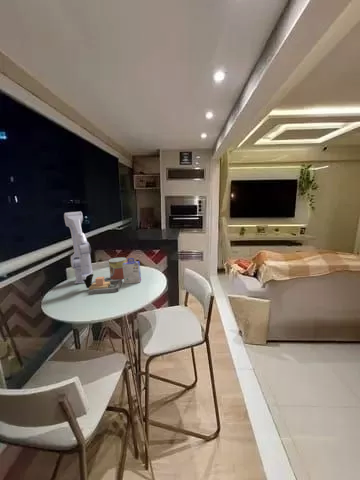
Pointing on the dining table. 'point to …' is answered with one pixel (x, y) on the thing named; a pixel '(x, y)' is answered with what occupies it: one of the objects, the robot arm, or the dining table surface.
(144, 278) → the dining table surface
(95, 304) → the dining table surface
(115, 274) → the canned food
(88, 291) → the dock
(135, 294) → the dining table surface
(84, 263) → the robot arm
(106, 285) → the pallet
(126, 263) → the ink cartridge box
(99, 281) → the salmon pink cube
